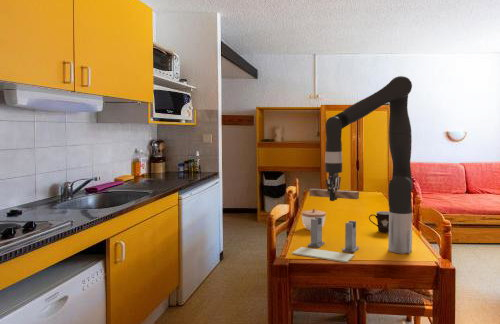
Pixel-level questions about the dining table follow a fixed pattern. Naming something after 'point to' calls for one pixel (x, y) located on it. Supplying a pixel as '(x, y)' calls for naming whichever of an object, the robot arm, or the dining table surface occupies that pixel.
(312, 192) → the walnut bar
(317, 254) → the white flat slab
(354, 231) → the forked posts
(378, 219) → the coffee mug
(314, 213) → the lidded bowl
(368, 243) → the dining table surface
